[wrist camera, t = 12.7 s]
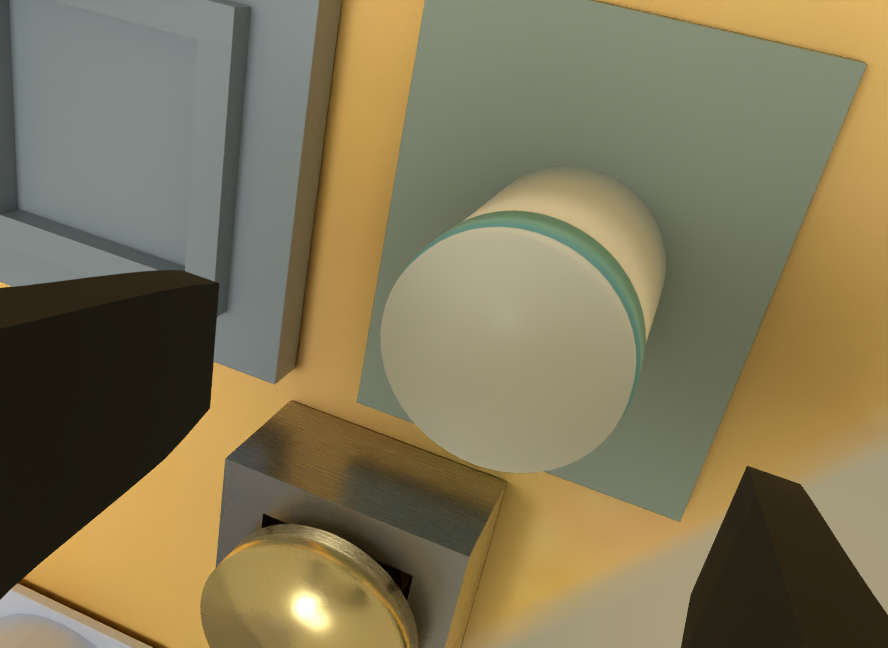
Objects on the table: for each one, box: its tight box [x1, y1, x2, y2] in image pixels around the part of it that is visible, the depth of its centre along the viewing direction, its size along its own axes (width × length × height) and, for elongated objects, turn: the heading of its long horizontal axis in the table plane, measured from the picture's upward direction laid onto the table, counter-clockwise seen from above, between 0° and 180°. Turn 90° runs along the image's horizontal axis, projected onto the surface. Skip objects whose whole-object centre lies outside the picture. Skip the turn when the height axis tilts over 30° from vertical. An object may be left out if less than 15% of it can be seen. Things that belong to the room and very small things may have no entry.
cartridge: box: [380, 166, 666, 473], centre depth 15 cm, size 4×4×5 cm
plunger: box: [201, 524, 418, 648], centre depth 20 cm, size 5×5×4 cm
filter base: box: [0, 0, 342, 384], centre depth 19 cm, size 10×10×2 cm
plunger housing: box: [216, 401, 507, 648], centre depth 21 cm, size 6×6×3 cm
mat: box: [357, 0, 867, 522], centre depth 17 cm, size 10×8×1 cm
